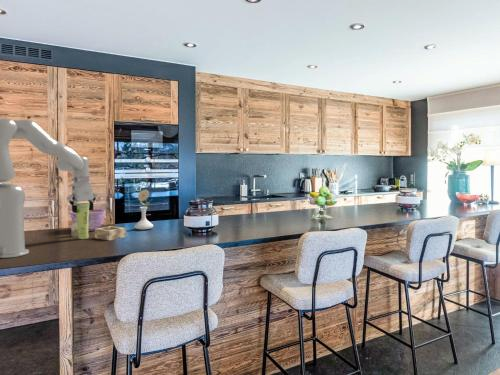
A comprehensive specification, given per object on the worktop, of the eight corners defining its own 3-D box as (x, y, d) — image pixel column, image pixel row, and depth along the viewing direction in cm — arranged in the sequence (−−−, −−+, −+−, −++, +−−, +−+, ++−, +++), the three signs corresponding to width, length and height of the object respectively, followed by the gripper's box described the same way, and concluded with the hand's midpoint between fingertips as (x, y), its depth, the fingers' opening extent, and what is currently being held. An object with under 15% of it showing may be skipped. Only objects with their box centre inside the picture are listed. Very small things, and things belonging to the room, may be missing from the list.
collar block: (109, 240, 188) (109, 231, 188) (94, 238, 194) (94, 229, 194) (126, 236, 198) (125, 227, 197) (111, 234, 204) (111, 225, 204)
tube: (81, 240, 189) (80, 203, 188) (75, 239, 192) (74, 203, 190) (90, 238, 194) (89, 202, 193) (84, 237, 197) (83, 202, 195)
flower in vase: (131, 228, 222) (130, 189, 220) (148, 226, 229) (147, 188, 228) (140, 231, 212) (139, 190, 210) (157, 229, 220) (157, 189, 218)
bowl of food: (69, 234, 205) (68, 214, 204) (71, 228, 223) (70, 210, 223) (106, 231, 213) (106, 212, 213) (105, 226, 232) (105, 208, 231)
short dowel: (74, 236, 197) (74, 224, 197) (69, 236, 200) (69, 223, 199) (82, 235, 201) (81, 223, 201) (77, 234, 203) (76, 222, 203)
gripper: (70, 181, 182) (72, 214, 183) (100, 179, 197) (101, 209, 198) (61, 180, 186) (63, 213, 187) (91, 178, 201) (92, 208, 202)
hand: (83, 211), depth 193 cm, fingers open, 9 cm apart
